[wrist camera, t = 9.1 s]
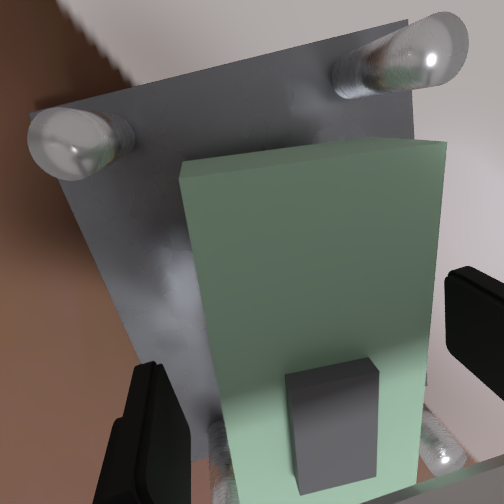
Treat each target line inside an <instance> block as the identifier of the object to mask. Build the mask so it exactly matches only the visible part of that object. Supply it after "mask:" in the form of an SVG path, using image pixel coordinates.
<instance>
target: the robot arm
mask: <svg viewBox="0 0 504 504" xmlns="http://www.w3.org/2000/svg"><path fill="white" fill-rule="evenodd" d="M444 287H445V328H446V346H447V349H448V350H449V352H450V353H451V354H452V355H453V356H454V357H455V358H456V359H457V360H458V361H460V362H461V363H462V364H463V365H464V366H465V367H466V368H467V369H468V370H470V371H471V372H472V373H473V374H474V375H475V376H476V377H478V378H479V379H480V380H481V381H482V382H483V383H484V384H486V386H487V387H489V388H490V389H491V390H492V391H493V392H494V393H496V395H498V396H499V397H500V398H501V399H502V400H503V401H504V283H502V282H500V281H498V280H496V279H494V278H492V277H490V276H488V275H487V274H485V273H483V272H480V271H479V270H477V269H475V268H473V267H470V266H465V267H462V268H459V269H456V270H452V271H450V272H449V273H448V277H446V278H445V281H444ZM92 504H191V433H190V428H189V425H188V422H187V420H186V418H185V415H184V413H183V411H182V408H181V406H180V404H179V401H178V399H177V396H176V394H175V392H174V389H173V387H172V385H171V382H170V380H169V378H168V375H167V373H166V370H165V368H164V366H163V364H162V363H160V364H156V362H155V361H150V362H147V363H144V364H140V365H137V366H135V368H134V371H133V375H132V379H131V384H130V388H129V392H128V396H127V401H126V405H125V409H124V413H123V417H121V418H117V419H116V420H115V421H114V424H113V426H112V430H111V434H110V438H109V442H108V446H107V449H106V453H105V457H104V461H103V465H102V469H101V472H100V476H99V480H98V484H97V488H96V492H95V496H94V499H93V503H92ZM360 504H504V454H503V455H500V456H497V457H494V458H491V459H488V460H485V461H482V462H479V463H476V464H473V465H471V466H468V467H465V468H462V469H459V470H456V471H453V472H450V473H447V474H444V475H441V476H438V477H436V478H433V479H430V480H427V481H424V482H421V483H418V484H415V485H412V486H409V487H406V488H404V489H401V490H398V491H395V492H392V493H389V494H386V495H383V496H380V497H377V498H375V499H372V500H369V501H366V502H363V503H360Z"/></svg>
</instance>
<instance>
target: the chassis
mask: <svg viewBox="0 0 504 504" xmlns="http://www.w3.org/2000/svg"><path fill="white" fill-rule="evenodd" d="M468 45H469V39H468V33H467V29H466V27H465V25H464V23H463V22H462V20H461V19H460V18H459V17H458V16H456V15H454V14H452V13H449V12H438V13H435V14H433V15H430V16H428V17H426V18H424V19H421V20H419V21H417V22H415V23H412V24H410V25H408V19H406V20H402V21H398V22H394V23H390V24H386V25H382V26H378V27H374V28H370V29H366V30H362V31H358V32H354V33H350V34H346V35H342V36H338V37H333V38H330V39H326V40H322V41H317V42H313V43H309V44H305V45H301V46H297V47H293V48H289V49H285V50H281V51H277V52H273V53H269V54H265V55H261V56H257V57H253V58H249V59H244V60H241V61H236V62H233V63H228V64H224V65H220V66H216V67H212V68H208V69H204V70H200V71H196V72H192V73H188V74H184V75H180V76H176V77H172V78H168V79H164V80H160V81H156V82H152V83H147V84H144V85H139V86H135V87H131V88H127V89H123V90H119V91H115V92H111V93H107V94H103V95H99V96H95V97H91V98H87V99H83V100H79V101H74V102H70V103H66V104H62V105H58V106H54V107H50V108H46V109H42V110H38V111H34V112H30V113H28V115H29V117H30V119H31V121H32V122H31V124H30V126H29V129H28V134H27V142H28V147H29V151H30V153H31V155H32V157H33V159H34V160H35V162H36V163H37V164H38V165H39V167H40V168H42V169H43V170H44V171H45V172H46V173H48V174H50V175H51V176H53V177H56V178H57V179H58V181H59V183H60V185H61V188H62V190H63V192H64V194H65V196H66V199H67V201H68V203H69V205H70V207H71V210H72V212H73V214H74V216H75V219H76V221H77V223H78V225H79V227H80V230H81V232H82V234H83V236H84V238H85V241H86V243H87V245H88V247H89V249H90V252H91V254H92V256H93V258H94V260H95V263H96V265H97V267H98V269H99V272H100V274H101V276H102V278H103V280H104V283H105V285H106V287H107V289H108V291H109V294H110V296H111V298H112V300H113V302H114V305H115V307H116V309H117V311H118V313H119V316H120V318H121V320H122V322H123V324H124V327H125V329H126V331H127V333H128V336H129V338H130V340H131V342H132V344H133V347H134V349H135V351H136V353H137V355H138V358H139V360H140V362H141V364H144V363H147V362H150V361H155V362H156V364H160V363H162V364H163V366H164V368H165V370H166V373H167V375H168V378H169V380H170V382H171V385H172V387H173V389H174V392H175V394H176V396H177V399H178V401H179V404H180V406H181V408H182V411H183V413H184V415H185V418H186V420H187V422H188V425H189V428H190V433H191V462H194V461H197V460H200V459H203V458H206V457H209V472H210V491H211V504H240V501H239V496H238V491H237V485H236V480H235V475H234V470H233V464H232V459H231V454H230V448H229V443H228V438H227V433H226V427H225V422H224V417H223V411H222V406H221V401H220V395H219V390H218V385H217V380H216V374H215V369H214V364H213V358H212V353H211V348H210V342H209V337H208V332H207V327H206V321H205V316H204V311H203V305H202V300H201V295H200V289H199V284H198V279H197V274H196V268H195V263H194V258H193V252H192V247H191V242H190V237H189V231H188V226H187V221H186V215H185V210H184V205H183V199H182V194H181V189H180V184H179V175H180V171H181V167H182V162H183V161H190V160H198V159H206V158H213V157H221V156H228V155H236V154H243V153H251V152H258V151H266V150H273V149H281V148H288V147H296V146H304V145H311V144H319V143H326V142H334V141H341V140H349V139H356V138H364V137H371V136H372V137H386V138H400V139H413V140H414V125H413V107H412V90H414V89H420V88H427V87H433V86H439V85H442V84H445V83H447V82H448V81H450V80H451V79H452V78H454V76H456V74H457V73H458V72H459V71H460V69H461V67H462V66H463V64H464V62H465V59H466V56H467V53H468ZM425 386H427V373H426V379H425ZM419 455H420V456H421V458H422V459H423V461H424V462H425V464H426V465H427V467H428V468H429V469H430V471H431V472H432V474H433V475H434V476H436V477H438V476H441V475H444V474H447V473H450V472H453V471H456V470H459V469H461V468H462V467H463V466H464V464H465V462H466V459H467V455H466V453H465V452H464V450H463V449H462V448H461V447H460V446H459V444H458V443H457V442H456V441H455V440H454V438H453V437H452V436H451V435H450V434H449V432H448V431H447V430H446V429H445V427H444V426H443V425H442V424H441V423H440V421H439V420H438V419H437V418H436V417H435V415H434V414H433V413H432V412H431V411H430V409H429V408H428V407H427V406H426V405H425V403H424V402H423V412H422V423H421V434H420V445H419Z"/></svg>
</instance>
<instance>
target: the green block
mask: <svg viewBox="0 0 504 504" xmlns="http://www.w3.org/2000/svg"><path fill="white" fill-rule="evenodd" d="M446 149H447V142H441V141H427V140H413V139H400V138H386V137H372V136H371V137H364V138H356V139H349V140H341V141H334V142H326V143H319V144H311V145H304V146H296V147H288V148H281V149H273V150H266V151H258V152H251V153H243V154H236V155H228V156H221V157H213V158H206V159H198V160H190V161H183V162H182V167H181V171H180V175H179V184H180V189H181V194H182V199H183V205H184V210H185V215H186V221H187V226H188V231H189V237H190V242H191V247H192V252H193V258H194V263H195V268H196V274H197V279H198V284H199V289H200V295H201V300H202V305H203V311H204V316H205V321H206V327H207V332H208V337H209V342H210V348H211V353H212V358H213V364H214V369H215V374H216V380H217V385H218V390H219V395H220V401H221V406H222V411H223V417H224V422H225V427H226V433H227V438H228V443H229V448H230V454H231V459H232V464H233V470H234V475H235V480H236V485H237V491H238V496H239V501H240V504H360V503H363V502H366V501H369V500H372V499H375V498H377V497H380V496H383V495H386V494H389V493H392V492H395V491H398V490H401V489H404V488H406V487H409V486H412V485H415V484H416V478H417V467H418V456H419V445H420V434H421V423H422V412H423V401H424V390H425V379H426V368H427V357H428V346H429V335H430V324H431V313H432V302H433V291H434V281H435V268H436V259H437V248H438V237H439V236H438V235H439V224H440V214H441V204H442V193H443V181H444V171H445V160H446Z"/></svg>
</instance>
